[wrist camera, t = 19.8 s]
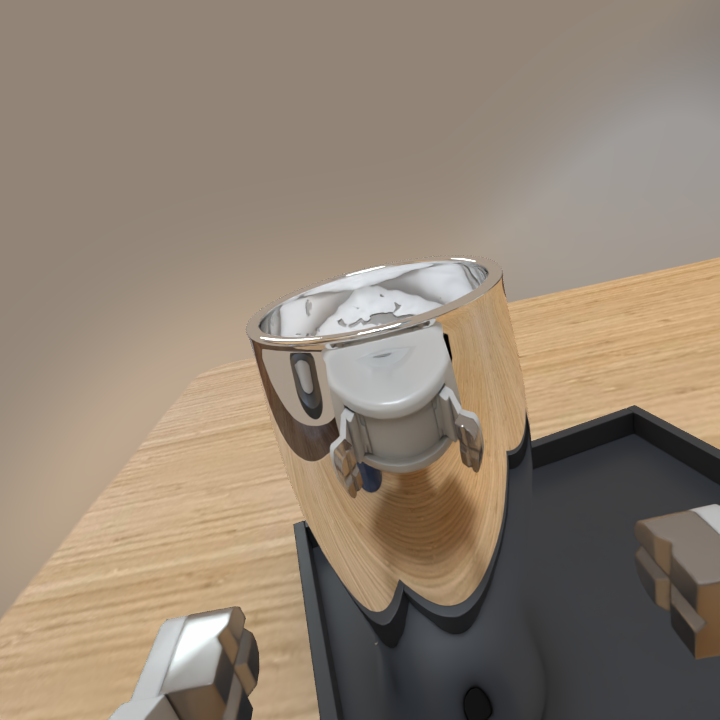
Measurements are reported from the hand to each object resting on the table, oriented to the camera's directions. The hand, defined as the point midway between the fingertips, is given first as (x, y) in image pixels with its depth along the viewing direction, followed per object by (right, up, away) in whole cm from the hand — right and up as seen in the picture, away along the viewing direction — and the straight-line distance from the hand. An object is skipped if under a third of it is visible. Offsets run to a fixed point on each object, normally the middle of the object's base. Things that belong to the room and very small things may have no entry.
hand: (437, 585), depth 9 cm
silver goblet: (+2, -7, +8) cm, 11 cm away
